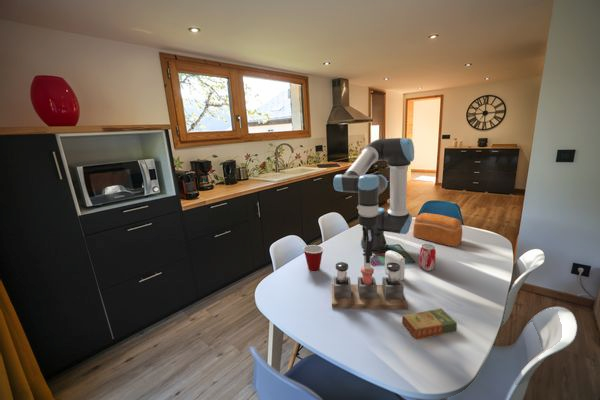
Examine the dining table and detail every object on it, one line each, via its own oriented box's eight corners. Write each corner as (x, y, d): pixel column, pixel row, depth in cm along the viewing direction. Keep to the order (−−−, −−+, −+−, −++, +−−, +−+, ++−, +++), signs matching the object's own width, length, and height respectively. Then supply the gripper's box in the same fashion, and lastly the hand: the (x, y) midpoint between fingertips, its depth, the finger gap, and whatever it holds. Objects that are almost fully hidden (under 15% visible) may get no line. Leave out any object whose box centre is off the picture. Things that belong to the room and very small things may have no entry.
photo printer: (383, 272, 132) (383, 249, 129) (389, 269, 134) (390, 247, 131) (398, 282, 123) (400, 258, 120) (405, 279, 125) (406, 255, 122)
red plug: (358, 285, 114) (358, 266, 112) (370, 284, 115) (370, 265, 112) (363, 292, 109) (364, 273, 107) (375, 290, 110) (376, 271, 108)
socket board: (331, 307, 108) (331, 290, 106) (331, 287, 122) (331, 272, 120) (407, 309, 105) (409, 291, 103) (399, 289, 118) (399, 273, 116)
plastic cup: (328, 267, 140) (327, 246, 137) (317, 276, 132) (316, 254, 129) (311, 262, 146) (310, 242, 143) (300, 270, 138) (298, 249, 135)
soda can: (436, 272, 130) (438, 249, 127) (420, 271, 131) (422, 249, 128) (432, 265, 136) (433, 243, 133) (417, 264, 138) (419, 243, 135)
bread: (420, 231, 181) (421, 209, 177) (463, 241, 162) (465, 216, 158) (411, 237, 172) (412, 214, 168) (455, 248, 153) (458, 222, 149)
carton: (401, 324, 98) (402, 314, 97) (440, 316, 100) (441, 307, 99) (415, 340, 90) (415, 330, 89) (456, 332, 92) (457, 322, 91)
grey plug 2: (383, 282, 112) (384, 263, 110) (395, 281, 113) (395, 261, 111) (389, 289, 107) (390, 269, 105) (401, 287, 108) (402, 267, 106)
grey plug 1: (334, 282, 115) (334, 263, 112) (345, 280, 116) (345, 261, 113) (338, 288, 110) (337, 269, 107) (350, 287, 111) (350, 267, 108)
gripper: (356, 209, 110) (356, 260, 116) (360, 219, 98) (359, 276, 104) (375, 209, 109) (373, 261, 115) (380, 219, 97) (379, 277, 103)
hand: (367, 268), depth 109 cm, fingers closed
